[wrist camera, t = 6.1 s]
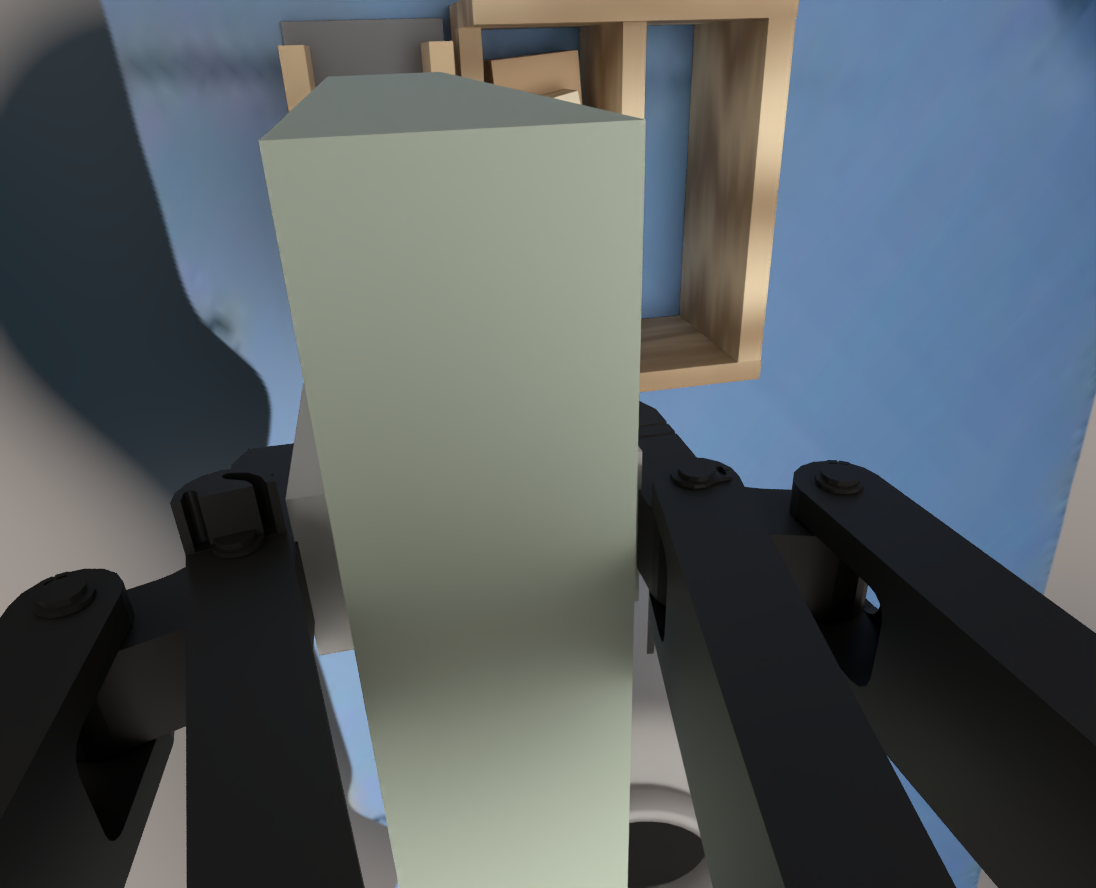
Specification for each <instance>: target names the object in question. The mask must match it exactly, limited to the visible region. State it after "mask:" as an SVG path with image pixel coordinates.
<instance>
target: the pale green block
mask: <svg viewBox="0 0 1096 888" xmlns="http://www.w3.org/2000/svg"><path fill="white" fill-rule="evenodd" d="M645 134H646V120H645V119H641V118H636V117H632V116H628V115H624V114H619V113H615V112H611V111H606V110H602V109H598V108H593V107H589V106H585V105H581V104H576V103H572V102H568V101H563V100H559V99H555V98H551V97H546V96H542V95H538V94H533V93H529V92H525V91H521V90H516V89H512V88H508V87H503V86H499V85H495V84H491V83H486V82H482V81H478V80H473V79H469V78H465V77H461V76H456V75H452V74H448V73H443V72H425V73H400V74H376V75H351V76H328V77H327V78H326V79H324V80H323V81H322V82H321V83H320V84H319V85H318V86H317V87H316V88H315V89H314V90H313V91H312V92H310V93H309V94H308V95H307V96H306V97H305V98H304V99H303V100H302V101H301V102H300V103H299V104H297V105H296V106H295V107H294V108H293V109H292V110H291V111H290V112H289V113H288V114H287V115H286V116H285V117H283V118H282V119H281V120H280V121H279V122H278V123H277V124H276V125H275V126H274V127H273V128H272V129H271V130H269V131H268V132H267V133H266V134H265V135H264V136H263V137H262V138H261V139H260V140H259V147H260V152H261V157H262V163H263V168H264V173H265V178H266V184H267V189H268V194H269V200H270V205H271V210H272V216H273V221H274V226H275V232H276V237H277V242H278V247H279V253H280V258H281V263H282V269H283V274H284V279H285V285H286V290H287V295H288V300H289V306H290V311H291V316H292V322H293V327H294V332H295V338H296V343H297V348H298V354H299V359H300V364H301V369H302V375H303V380H304V385H305V391H306V396H307V401H308V407H309V412H310V417H311V422H312V428H313V433H314V438H315V444H316V449H317V454H318V460H319V465H320V470H321V476H322V481H323V486H324V491H325V497H326V502H327V507H328V513H329V518H330V523H331V529H332V534H333V539H334V544H335V550H336V555H337V560H338V566H339V571H340V576H341V582H342V587H343V592H344V598H345V603H346V608H347V613H348V619H349V624H350V629H351V635H352V640H353V645H354V651H355V656H356V661H357V666H358V672H359V677H360V682H361V688H362V693H363V698H364V704H365V709H366V714H367V720H368V725H369V730H370V735H371V741H372V746H373V751H374V757H375V762H376V767H377V773H378V778H379V783H380V788H381V794H382V799H383V804H384V810H385V815H386V820H387V826H388V831H389V836H390V841H391V847H392V852H393V857H394V863H395V868H396V873H397V879H398V884H399V888H628V847H629V805H630V763H631V721H632V679H633V637H634V595H635V554H636V512H637V470H638V428H639V386H640V344H641V302H642V260H643V218H644V176H645Z"/></svg>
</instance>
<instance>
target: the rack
mask: <svg viewBox="0 0 1096 888" xmlns="http://www.w3.org/2000/svg"><path fill="white" fill-rule="evenodd" d="M798 4H799V0H460V1H458V2H456V3H454V4H452V5H450V6H449V11H450V25H451V39H452V41H453V49H454V63H455V75H456V76H461V77H465V78H469V79H473V80H478V81H482V82H484V70H483V53H482V35H481V30H483V29H525V28H566V27H580V83H581V96H582V105H585V106H589V107H593V108H598V109H602V110H606V111H611V112H615V113H619V114H624V115H628V116H632V117H636V118H641V119H644V103H645V67H646V31H647V26H648V25H689V24H694V41H693V61H692V80H691V99H690V118H689V138H688V157H687V176H686V195H685V215H684V234H683V253H682V272H681V292H680V311H679V315H677V316H666V317H656V318H646V319H641V344H640V386H639V392H646V391H655V390H664V389H672V388H681V387H690V386H699V385H707V384H716V383H725V382H734V381H742V380H751V379H759V378H760V369H761V350H762V341H763V331H764V321H765V312H766V302H767V292H768V283H769V273H770V263H771V254H772V244H773V234H774V225H775V215H776V205H777V196H778V186H779V176H780V167H781V157H782V148H783V138H784V128H785V119H786V109H787V99H788V90H789V80H790V70H791V61H792V51H793V41H794V32H795V22H796V17H797V14H798Z"/></svg>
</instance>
